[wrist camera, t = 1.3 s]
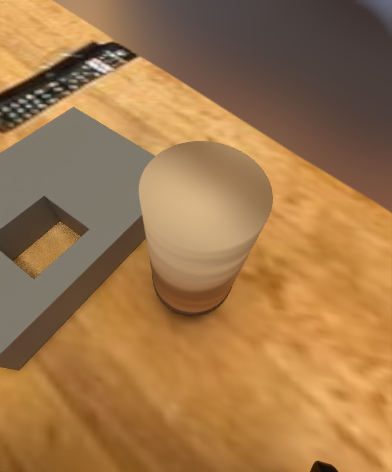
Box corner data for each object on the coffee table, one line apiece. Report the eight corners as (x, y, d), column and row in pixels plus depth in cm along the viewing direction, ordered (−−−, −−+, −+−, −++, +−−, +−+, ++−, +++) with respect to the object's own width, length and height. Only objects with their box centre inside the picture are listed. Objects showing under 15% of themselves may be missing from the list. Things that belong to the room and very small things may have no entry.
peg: (198, 341, 20) (227, 278, 10) (140, 296, 22) (107, 196, 11) (238, 283, 23) (296, 180, 12) (183, 246, 24) (191, 123, 13)
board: (18, 370, 19) (-12, 365, 16) (-93, 260, 22) (-136, 239, 19) (182, 199, 27) (183, 173, 24) (83, 136, 30) (73, 106, 27)
